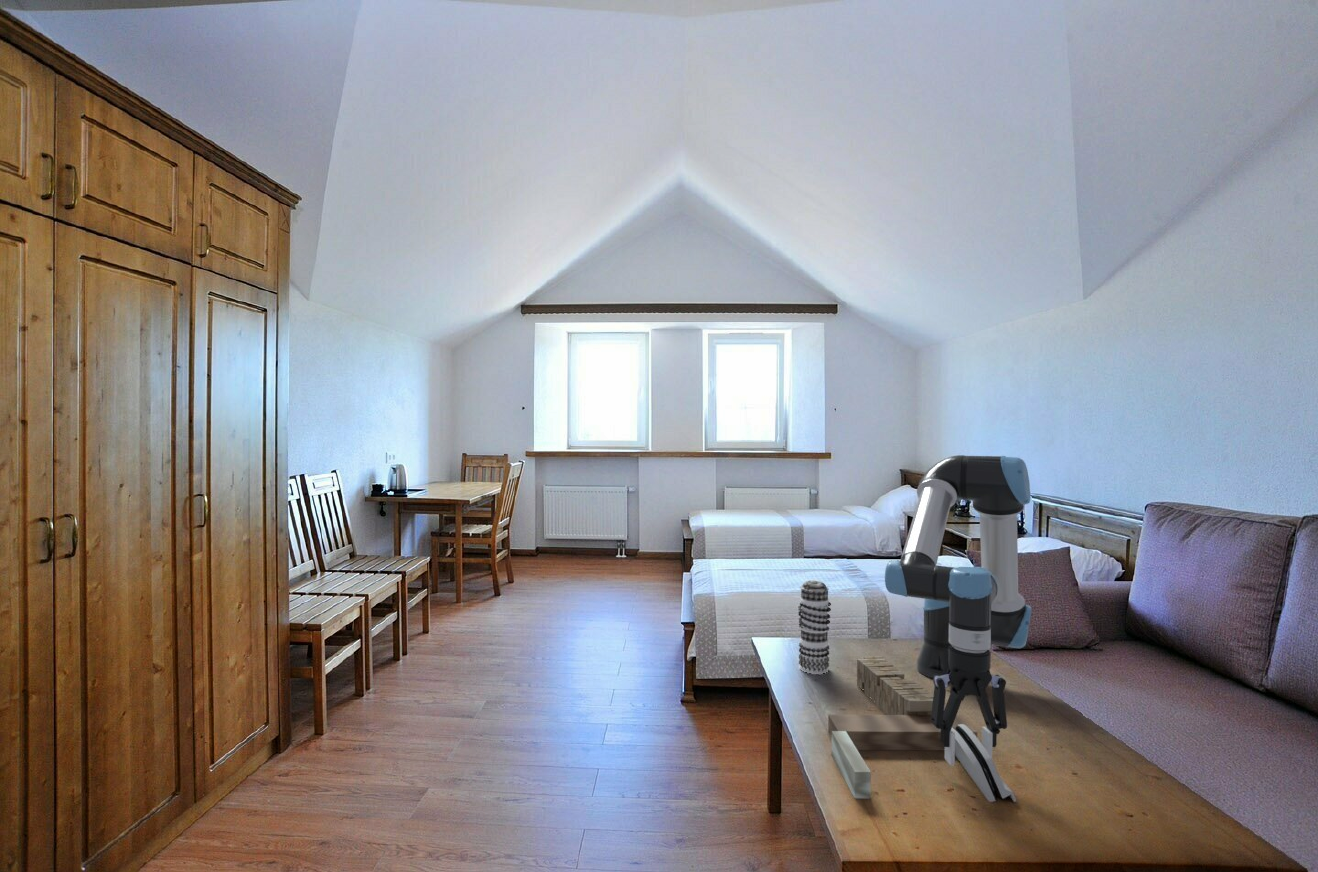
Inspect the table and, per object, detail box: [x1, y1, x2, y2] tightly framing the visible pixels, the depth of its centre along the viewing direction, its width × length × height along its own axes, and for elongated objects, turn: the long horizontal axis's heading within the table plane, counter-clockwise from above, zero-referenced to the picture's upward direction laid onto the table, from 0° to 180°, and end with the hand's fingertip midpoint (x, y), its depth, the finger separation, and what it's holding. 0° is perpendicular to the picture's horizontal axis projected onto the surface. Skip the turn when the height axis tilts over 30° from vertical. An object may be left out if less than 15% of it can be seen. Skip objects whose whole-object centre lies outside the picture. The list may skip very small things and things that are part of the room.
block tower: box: [856, 655, 934, 715], centre depth 158 cm, size 8×8×29 cm
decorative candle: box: [797, 580, 832, 675], centre depth 182 cm, size 9×9×25 cm
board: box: [827, 714, 978, 799], centre depth 132 cm, size 32×26×5 cm
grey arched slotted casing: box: [951, 724, 1017, 803], centre depth 126 cm, size 17×5×10 cm, turn 175°
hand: (968, 762), depth 126 cm, fingers open, 7 cm apart
